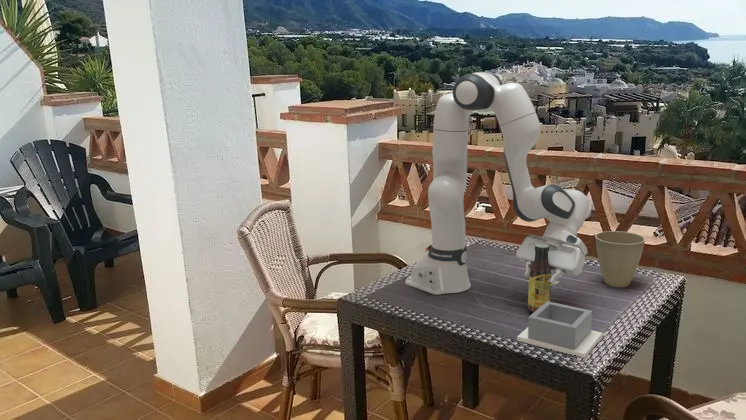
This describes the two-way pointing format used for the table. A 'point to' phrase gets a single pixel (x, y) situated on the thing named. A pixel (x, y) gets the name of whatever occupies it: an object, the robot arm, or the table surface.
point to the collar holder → (561, 329)
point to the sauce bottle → (539, 278)
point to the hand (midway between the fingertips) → (538, 279)
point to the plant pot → (619, 256)
